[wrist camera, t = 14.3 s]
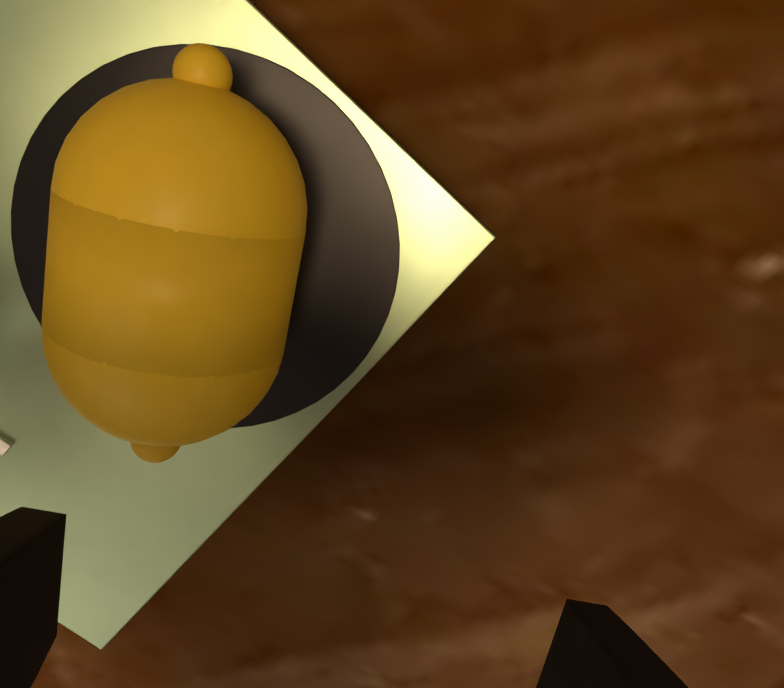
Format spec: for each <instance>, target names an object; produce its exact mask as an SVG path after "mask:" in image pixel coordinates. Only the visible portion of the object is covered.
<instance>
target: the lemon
mask: <svg viewBox="0 0 784 688" xmlns="http://www.w3.org/2000/svg"><path fill="white" fill-rule="evenodd" d="M172 74H173V78H161V79H149V80H146V81H142V82H139V83H135V84H132V85H128V86H125V87H123V88H121V89H119V90H117V91H115V92H113V93H112V94H110V95H108V96H106V97H104V98H102V99H101V100H99V101H98V102H97V103H96V104H95V105H94V106H93V107H91V108H90V109H89V110H88V111H87V112H86V113H84V114H83V115H82V116H81V117H80V119H79V120H78V121H77V123H76V124H75V125H74V127H73V128H72V130H71V131H70V132H69V134H68V135H67V136H66V138H65V140H64V143H63V145H62V147H61V150H60V152H59V154H58V157H57V159H56V161H55V166H54V172H53V177H52V183H51V191H50V206H49V220H48V235H47V250H46V264H45V279H44V293H43V308H42V341H43V349H44V354H45V357H46V361H47V364H48V368H49V371H50V374H51V376H52V378H53V380H54V381H55V383H56V385H57V387H58V388H59V390H60V392H61V394H62V395H63V396H64V398H65V399H66V400H67V402H68V403H69V404H70V405H71V406H72V407H73V408H74V409H75V410H76V411H77V412H78V413H79V414H80V415H81V416H82V417H83V418H84V419H86V420H87V421H88V422H90V423H91V424H93V425H94V426H96V427H98V428H99V429H101V430H103V431H104V432H106V433H108V434H110V435H112V436H114V437H116V438H119V439H122V440H125V441H128V442H130V444H131V447H132V450H133V451H134V453H135V454H136V455H137V456H138V457H139V458H141V459H142V460H144V461H147V462H151V463H159V462H163V461H166V460H168V459H170V458H171V457H173V456H174V455H175V454H176V453H177V451H178V450H179V448H180V446H182V445H189V444H194V443H197V442H201V441H204V440H206V439H208V438H211V437H213V436H216V435H218V434H220V433H223V432H225V431H227V430H228V429H230V428H231V427H232V426H234V425H235V424H237V423H238V422H239V421H241V420H242V419H243V418H245V417H246V416H247V415H249V414H250V413H251V412H252V411H253V409H254V408H255V407H256V406H257V405H258V404H259V403H260V401H261V400H262V399H263V398H264V396H265V395H266V394H267V392H268V390H269V389H270V387H271V385H272V383H273V381H274V379H275V378H276V376H277V374H278V371H279V367H280V364H281V361H282V357H283V354H284V349H285V343H286V338H287V332H288V327H289V321H290V316H291V310H292V305H293V299H294V294H295V288H296V283H297V277H298V272H299V266H300V261H301V255H302V250H303V244H304V239H305V233H306V220H307V199H306V190H305V183H304V180H303V176H302V173H301V170H300V167H299V164H298V161H297V159H296V157H295V155H294V153H293V151H292V149H291V148H290V146H289V144H288V142H287V140H286V138H285V137H284V136H283V135H282V134H281V132H280V131H279V130H278V129H277V127H276V126H275V125H274V124H273V122H272V121H271V120H270V119H269V118H268V117H267V116H266V115H264V114H263V113H262V112H261V111H260V110H258V109H257V108H256V107H255V106H254V105H253V104H251V103H250V102H249V101H247V100H245V99H243V98H242V97H240V96H238V95H236V94H234V93H233V92H231V91H230V89H231V86H232V81H233V73H232V68H231V65H230V63H229V61H228V59H227V58H226V56H225V55H224V54H223V53H222V52H221V51H220V50H218V49H217V48H215V47H214V46H212V45H209V44H204V43H194V44H191V45H188V46H186V47H185V48H183V49H182V50H181V51H180V52H179V53H178V54H177V56H176V58H175V60H174V63H173V68H172Z"/></svg>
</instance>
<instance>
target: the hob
mask: <svg viewBox="0 0 784 688" xmlns="http://www.w3.org/2000/svg"><path fill="white" fill-rule="evenodd" d="M194 43H204V44H209V45H215V46H221V47H227V48H233V49H238V50H241V51H244V52H247V53H251V54H254V55H257V56H260V57H263V58H266V59H268V60H270V61H272V62H274V63H276V64H279V65H281V66H283V67H285V68H287V69H289V70H291V71H292V72H294V73H296V74H297V75H299V76H300V77H302V78H303V79H305V80H307V81H308V82H310V83H311V84H313V85H314V86H315V87H317V88H318V89H319V90H320V91H321V92H323V93H324V94H325V95H326V96H327V97H329V98H330V99H331V100H332V101H333V102H335V103H336V105H337V106H338V107H339V108H340V109H341V110H342V111H343V112H344V113H345V114H346V115H347V116H348V117H349V119H350V120H351V121H352V122H353V123H354V124H355V126H356V127H357V129H358V130H359V131H360V133H361V134H362V136H363V137H364V138H365V140H366V141H367V143H368V144H369V145H370V147H371V149H372V151H373V153H374V155H375V157H376V159H377V160H378V162H379V164H380V166H381V168H382V170H383V173H384V176H385V178H386V181H387V183H388V186H389V189H390V191H391V194H392V199H393V203H394V207H395V211H396V215H397V221H398V230H399V240H400V261H399V274H398V280H397V286H396V292H395V296H394V299H393V302H392V306H391V309H390V312H389V316H388V318H387V320H386V322H385V324H384V327H383V329H382V331H381V333H380V335H379V337H378V339H377V341H376V342H375V344H374V345H373V347H372V349H371V350H370V352H369V353H368V355H367V356H366V358H365V359H364V360H363V361H362V362H361V364H360V365H359V366H358V367H357V368H356V370H355V371H354V372H353V373H352V374H351V375H350V376H349V377H348V378H347V379H346V380H345V381H344V382H343V383H342V384H340V385H339V386H338V387H337V388H336V389H335V390H333V391H332V392H331V393H329V394H328V395H326V396H325V397H324V398H322V399H321V400H319V401H318V402H316V403H314V404H312V405H311V406H309V407H307V408H305V409H303V410H301V411H299V412H297V413H295V414H292V415H289V416H287V417H284V418H281V419H279V420H276V421H272V422H268V423H263V424H259V425H255V426H248V427H239V428H230V429H228V430H227V431H225V432H223V433H220V434H218V435H216V436H213V437H211V438H208V439H206V440H204V441H201V442H197V443H194V444H189V445H182V446H180V448H179V450H178V451H177V453H176V454H175V455H174V456H173V457H171V458H170V459H168V460H166V461H163V462H159V463H151V462H147V461H144V460H142V459H141V458H139V457H138V456H137V455H136V454H135V453H134V451H133V450H132V447H131V444H130V442H128V441H125V440H122V439H119V438H116V437H114V436H112V435H110V434H108V433H106V432H104V431H103V430H101V429H99V428H98V427H96V426H94V425H93V424H91V423H90V422H88V421H87V420H86V419H84V418H83V417H82V416H81V415H80V414H79V413H78V412H77V411H76V410H75V409H74V408H73V407H72V406H71V405H70V404H69V403H68V402H67V400H66V399H65V398H64V396H63V395H62V394H61V392H60V390H59V388H58V387H57V385H56V383H55V381H54V380H53V378H52V376H51V374H50V371H49V368H48V364H47V361H46V357H45V354H44V349H43V341H42V327H41V325H40V323H39V322H38V320H37V318H36V316H35V315H34V313H33V311H32V309H31V307H30V304H29V302H28V300H27V297H26V295H25V293H24V290H23V288H22V285H21V282H20V278H19V275H18V271H17V268H16V264H15V259H14V253H13V246H12V239H11V205H12V197H13V188H14V183H15V180H16V176H17V172H18V168H19V165H20V161H21V159H22V156H23V154H24V152H25V149H26V147H27V145H28V142H29V140H30V138H31V136H32V135H33V133H34V131H35V130H36V128H37V126H38V125H39V123H40V122H41V120H42V118H43V117H44V115H45V114H46V113H47V112H48V111H49V109H50V108H51V107H52V106H53V105H54V104H55V102H56V101H57V100H58V99H59V98H60V96H61V95H63V94H64V93H65V92H66V91H67V90H68V89H70V88H71V87H72V86H73V85H74V84H75V83H76V82H78V81H79V80H80V79H81V78H83V77H84V76H86V75H88V74H89V73H91V72H92V71H94V70H96V69H97V68H99V67H100V66H102V65H104V64H106V63H108V62H110V61H113V60H115V59H117V58H120V57H122V56H124V55H127V54H130V53H133V52H137V51H141V50H144V49H148V48H152V47H158V46H166V45H175V44H194ZM495 239H496V236H495V235H494V234H493V233H492V232H491V231H490V230H489V229H488V228H487V227H486V226H485V225H484V224H482V223H481V222H480V221H479V220H478V219H477V218H476V217H475V216H474V215H473V214H472V213H471V212H470V211H469V210H468V209H467V208H466V207H465V206H464V205H463V204H462V203H461V202H459V201H458V200H457V199H456V198H455V197H454V196H453V195H452V194H451V193H450V192H449V191H448V190H447V189H446V188H445V187H444V186H443V185H442V184H441V183H440V182H439V181H438V180H436V179H435V178H434V177H433V176H432V175H431V174H430V173H429V172H428V171H427V170H426V169H425V168H424V167H423V166H422V165H421V164H420V163H419V162H418V161H417V160H416V159H415V158H414V157H412V156H411V155H410V154H409V153H408V152H407V151H406V150H405V149H404V148H403V147H402V146H401V145H400V144H399V143H398V142H397V141H396V140H395V139H394V138H393V137H392V136H391V135H389V134H388V133H387V132H386V131H385V130H384V129H383V128H382V127H381V126H380V125H379V124H378V123H377V122H376V121H375V120H374V119H373V118H372V117H371V116H370V115H369V114H368V113H366V112H365V111H364V110H363V109H362V108H361V107H360V106H359V105H358V104H357V103H356V102H355V101H354V100H353V99H352V98H351V97H350V96H349V95H348V94H347V93H346V92H345V91H343V90H342V89H341V88H340V87H339V86H338V85H337V84H336V83H335V82H334V81H333V80H332V79H331V78H330V77H329V76H328V75H327V74H326V73H325V72H324V71H323V70H322V69H320V68H319V67H318V66H317V65H316V64H315V63H314V62H313V61H312V60H311V59H310V58H309V57H308V56H307V55H306V54H305V53H304V52H303V51H302V50H301V49H300V48H299V47H297V46H296V45H295V44H294V43H293V42H292V41H291V40H290V39H289V38H288V37H287V36H286V35H285V34H284V33H283V32H282V31H281V30H280V29H279V28H278V27H277V26H276V25H274V24H273V23H272V22H271V21H270V20H269V19H268V18H267V17H266V16H265V15H264V14H263V13H262V12H261V11H260V10H259V9H258V8H257V7H256V6H255V5H254V4H253V3H252V2H250V1H249V0H0V517H1V516H3V515H5V514H7V513H9V512H11V511H13V510H15V509H17V508H19V507H27V508H33V509H39V510H45V511H51V512H57V513H63V514H66V526H65V538H64V551H63V563H62V576H61V588H60V600H59V613H58V622H59V623H60V624H62V625H63V626H65V627H66V628H68V629H69V630H71V631H72V632H74V633H76V634H77V635H79V636H80V637H82V638H83V639H85V640H86V641H88V642H89V643H91V644H92V645H94V646H96V647H97V648H99V649H100V650H102V649H103V648H104V647H105V646H106V645H107V644H108V643H109V642H110V641H111V640H112V639H113V638H114V637H115V636H116V635H117V634H118V633H119V632H120V631H121V630H122V629H123V628H124V626H125V625H126V624H127V623H128V622H129V621H130V620H131V619H132V618H133V617H134V616H135V615H136V614H137V613H138V612H139V611H140V610H141V609H142V608H143V607H144V606H145V605H146V603H147V602H148V601H149V600H150V599H151V598H152V597H153V596H154V595H155V594H156V593H157V592H158V591H159V590H160V589H161V588H162V587H163V586H164V585H165V584H166V583H167V582H168V581H169V579H170V578H171V577H172V576H173V575H174V574H175V573H176V572H177V571H178V570H179V569H180V568H181V567H182V566H183V565H184V564H185V563H186V562H187V561H188V560H189V559H190V558H191V556H192V555H193V554H194V553H195V552H196V551H197V550H198V549H199V548H200V547H201V546H202V545H203V544H204V543H205V542H206V541H207V540H208V539H209V538H210V537H211V536H212V535H213V533H214V532H215V531H216V530H217V529H218V528H219V527H220V526H221V525H222V524H223V523H224V522H225V521H226V520H227V519H228V518H229V517H230V516H231V515H232V514H233V513H234V512H235V511H236V509H237V508H238V507H239V506H240V505H241V504H242V503H243V502H244V501H245V500H246V499H247V498H248V497H249V496H250V495H251V494H252V493H253V492H254V491H255V490H256V489H257V488H258V486H259V485H260V484H261V483H262V482H263V481H264V480H265V479H266V478H267V477H268V476H269V475H270V474H271V473H272V472H273V471H274V470H275V469H276V468H277V467H278V466H279V465H280V464H281V462H282V461H283V460H284V459H285V458H286V457H287V456H288V455H289V454H290V453H291V452H292V451H293V450H294V449H295V448H296V447H297V446H298V445H299V444H300V443H301V442H302V441H303V439H304V438H305V437H306V436H307V435H308V434H309V433H310V432H311V431H312V430H313V429H314V428H315V427H316V426H317V425H318V424H319V423H320V422H321V421H322V420H323V419H324V418H325V417H326V415H327V414H328V413H329V412H330V411H331V410H332V409H333V408H334V407H335V406H336V405H337V404H338V403H339V402H340V401H341V400H342V399H343V398H344V397H345V396H346V395H347V394H348V392H349V391H350V390H351V389H352V388H353V387H354V386H355V385H356V384H357V383H358V382H359V381H360V380H361V379H362V378H363V377H364V376H365V375H366V374H367V373H368V372H369V371H370V369H371V368H372V367H373V366H374V365H375V364H376V363H377V362H378V361H379V360H380V359H381V358H382V357H383V356H384V355H385V354H386V353H387V352H388V351H389V350H390V349H391V348H392V347H393V345H394V344H395V343H396V342H397V341H398V340H399V339H400V338H401V337H402V336H403V335H404V334H405V333H406V332H407V331H408V330H409V329H410V328H411V327H412V326H413V325H414V324H415V322H416V321H417V320H418V319H419V318H420V317H421V316H422V315H423V314H424V313H425V312H426V311H427V310H428V309H429V308H430V307H431V306H432V305H433V304H434V303H435V302H436V301H437V300H438V298H439V297H440V296H441V295H442V294H443V293H444V292H445V291H446V290H447V289H448V288H449V287H450V286H451V285H452V284H453V283H454V282H455V281H456V280H457V279H458V278H459V277H460V275H461V274H462V273H463V272H464V271H465V270H466V269H467V268H468V267H469V266H470V265H471V264H472V263H473V262H474V261H475V260H476V259H477V258H478V257H479V256H480V255H481V254H482V252H483V251H484V250H485V249H486V248H487V247H488V246H489V245H490V244H491V243H492V242H493V241H494V240H495Z"/></svg>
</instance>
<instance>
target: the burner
mask: <svg viewBox="0 0 784 688" xmlns="http://www.w3.org/2000/svg"><path fill="white" fill-rule="evenodd" d="M188 45H191V44H175V45H166V46H158V47H152V48H148V49H144V50H141V51H137V52H133V53H130V54H127V55H124V56H122V57H120V58H117V59H115V60H113V61H110V62H108V63H106V64H104V65H102V66H100V67H99V68H97V69H96V70H94V71H92V72H91V73H89V74H88V75H86V76H84V77H83V78H81V79H80V80H79V81H78V82H76V83H75V84H74V85H73V86H72V87H71V88H70V89H68V90H67V91H66V92H65V93H64V94H63V95H61V96H60V98H59V99H58V100H57V101H56V102H55V104H54V105H53V106H52V107H51V108H50V109H49V111H48V112H47V113H46V114H45V115H44V117H43V118H42V120H41V122H40V123H39V125H38V126H37V128H36V130H35V131H34V133H33V135H32V136H31V138H30V140H29V142H28V145H27V147H26V149H25V152H24V154H23V156H22V159H21V161H20V165H19V168H18V172H17V176H16V180H15V183H14V188H13V197H12V205H11V239H12V246H13V253H14V259H15V264H16V268H17V271H18V275H19V278H20V282H21V285H22V288H23V290H24V293H25V295H26V297H27V300H28V302H29V304H30V307H31V309H32V311H33V313H34V315H35V316H36V318H37V320H38V322H39V323H40V325H41V327H42V308H43V293H44V279H45V264H46V250H47V235H48V220H49V206H50V191H51V183H52V177H53V172H54V166H55V161H56V159H57V157H58V154H59V152H60V150H61V147H62V145H63V143H64V140H65V138H66V136H67V135H68V134H69V132H70V131H71V130H72V128H73V127H74V125H75V124H76V123H77V121H78V120H79V119H80V117H81V116H82V115H83V114H84V113H86V112H87V111H88V110H89V109H90V108H91V107H93V106H94V105H95V104H96V103H97V102H98V101H99V100H101V99H102V98H104V97H106V96H108V95H110V94H112V93H113V92H115V91H117V90H119V89H121V88H123V87H125V86H128V85H132V84H135V83H139V82H142V81H146V80H149V79H161V78H173V74H172V68H173V63H174V60H175V58H176V56H177V54H178V53H179V52H180V51H181V50H182V49H183V48H185V47H186V46H188ZM212 46H214V47H215V48H217V49H218V50H220V51H221V52H222V53H223V54H224V55H225V56H226V58H227V59H228V61H229V63H230V65H231V68H232V73H233V81H232V86H231V89H230V91H231V92H233V93H234V94H236V95H238V96H240V97H242V98H243V99H245V100H247V101H249V102H250V103H251V104H253V105H254V106H255V107H256V108H257V109H258V110H260V111H261V112H262V113H263V114H264V115H266V116H267V117H268V118H269V119H270V120H271V121H272V122H273V124H274V125H275V126H276V127H277V129H278V130H279V131H280V132H281V134H282V135H283V136H284V137H285V138H286V140H287V142H288V144H289V146H290V148H291V149H292V151H293V153H294V155H295V157H296V159H297V161H298V164H299V167H300V170H301V173H302V176H303V180H304V183H305V190H306V199H307V220H306V233H305V239H304V244H303V250H302V255H301V261H300V266H299V272H298V277H297V283H296V288H295V294H294V299H293V305H292V310H291V316H290V321H289V327H288V332H287V338H286V343H285V349H284V354H283V357H282V361H281V364H280V367H279V371H278V374H277V376H276V378H275V379H274V381H273V383H272V385H271V387H270V389H269V390H268V392H267V394H266V395H265V396H264V398H263V399H262V400H261V401H260V403H259V404H258V405H257V406H256V407H255V408H254V409H253V411H252V412H251V413H250V414H249V415H247V416H246V417H245V418H243V419H242V420H241V421H239V422H238V423H237V424H235V425H234V426H232V427H231V428H239V427H248V426H255V425H259V424H263V423H268V422H272V421H276V420H279V419H281V418H284V417H287V416H289V415H292V414H295V413H297V412H299V411H301V410H303V409H305V408H307V407H309V406H311V405H312V404H314V403H316V402H318V401H319V400H321V399H322V398H324V397H325V396H326V395H328V394H329V393H331V392H332V391H333V390H335V389H336V388H337V387H338V386H339V385H340V384H342V383H343V382H344V381H345V380H346V379H347V378H348V377H349V376H350V375H351V374H352V373H353V372H354V371H355V370H356V368H357V367H358V366H359V365H360V364H361V362H362V361H363V360H364V359H365V358H366V356H367V355H368V353H369V352H370V350H371V349H372V347H373V345H374V344H375V342H376V341H377V339H378V337H379V335H380V333H381V331H382V329H383V327H384V324H385V322H386V320H387V318H388V316H389V312H390V309H391V306H392V302H393V299H394V296H395V292H396V286H397V280H398V274H399V261H400V240H399V230H398V221H397V215H396V211H395V207H394V203H393V199H392V194H391V191H390V189H389V186H388V183H387V181H386V178H385V176H384V173H383V170H382V168H381V166H380V164H379V162H378V160H377V159H376V157H375V155H374V153H373V151H372V149H371V147H370V145H369V144H368V143H367V141H366V140H365V138H364V137H363V136H362V134H361V133H360V131H359V130H358V129H357V127H356V126H355V124H354V123H353V122H352V121H351V120H350V119H349V117H348V116H347V115H346V114H345V113H344V112H343V111H342V110H341V109H340V108H339V107H338V106H337V105H336V103H335V102H333V101H332V100H331V99H330V98H329V97H327V96H326V95H325V94H324V93H323V92H321V91H320V90H319V89H318V88H317V87H315V86H314V85H313V84H311V83H310V82H308V81H307V80H305V79H303V78H302V77H300V76H299V75H297V74H296V73H294V72H292V71H291V70H289V69H287V68H285V67H283V66H281V65H279V64H276V63H274V62H272V61H270V60H268V59H266V58H263V57H260V56H257V55H254V54H251V53H247V52H244V51H241V50H238V49H233V48H227V47H221V46H215V45H212Z"/></svg>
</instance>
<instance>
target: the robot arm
mask: <svg viewBox="0 0 784 688" xmlns="http://www.w3.org/2000/svg"><path fill="white" fill-rule="evenodd" d="M65 526H66V514H63V513H57V512H51V511H45V510H39V509H33V508H27V507H19V508H17V509H15V510H13V511H11V512H9V513H7V514H5V515H3V516H1V517H0V688H31V686H32V684H33V682H34V680H35V678H36V676H37V674H38V672H39V670H40V668H41V666H42V664H43V662H44V660H45V658H46V656H47V654H48V652H49V650H50V648H51V646H52V644H53V642H54V640H55V638H56V635H57V625H58V613H59V600H60V588H61V576H62V563H63V551H64V538H65ZM536 688H688V687H687V686H686V685H685V684H684V683H683V682H682V681H681V679H680V678H679V677H678V676H677V675H676V674H675V673H674V672H673V671H672V670H671V669H670V668H669V667H668V666H667V665H666V664H665V663H664V662H663V661H662V660H661V659H660V658H659V657H658V656H657V655H656V654H655V653H654V652H653V651H652V650H651V649H650V648H649V646H648V645H647V644H646V643H645V642H644V641H643V640H642V639H641V638H640V637H639V636H638V635H637V634H636V633H635V632H634V631H633V630H632V629H631V628H630V627H629V626H628V625H627V624H626V623H625V622H624V621H623V620H622V619H621V618H620V617H618V616H617V615H616V614H615V613H614V612H613V611H612V610H611V609H610V608H609V607H608V606H605V605H599V604H594V603H588V602H582V601H576V600H570V599H567V600H566V603H565V606H564V609H563V612H562V615H561V617H560V620H559V623H558V626H557V629H556V632H555V635H554V638H553V641H552V644H551V646H550V649H549V652H548V655H547V658H546V661H545V664H544V667H543V670H542V673H541V676H540V678H539V681H538V684H537V687H536Z"/></svg>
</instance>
